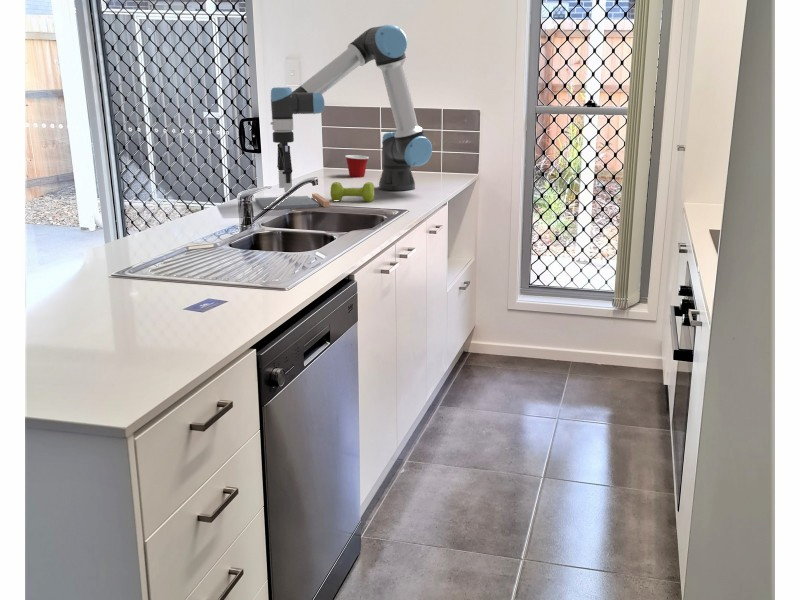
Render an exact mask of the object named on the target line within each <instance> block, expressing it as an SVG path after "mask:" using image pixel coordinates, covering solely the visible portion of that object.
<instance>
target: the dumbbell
mask: <svg viewBox="0 0 800 600" xmlns="http://www.w3.org/2000/svg"><path fill="white" fill-rule="evenodd" d="M330 197H331V201H332V200H340V201H342V199H343V198H344V197H362V199H363V201H365V203H372V202H373V201H374V198H375V185H374V183H373V182H369V181H368V182H365V183H364V184H363V186H362V187H360V188H358V187H356V188H355V187H343V185H342V183H341V182H340V181H339V182H338V181H334V182H332V183H331V186H330Z"/></svg>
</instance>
